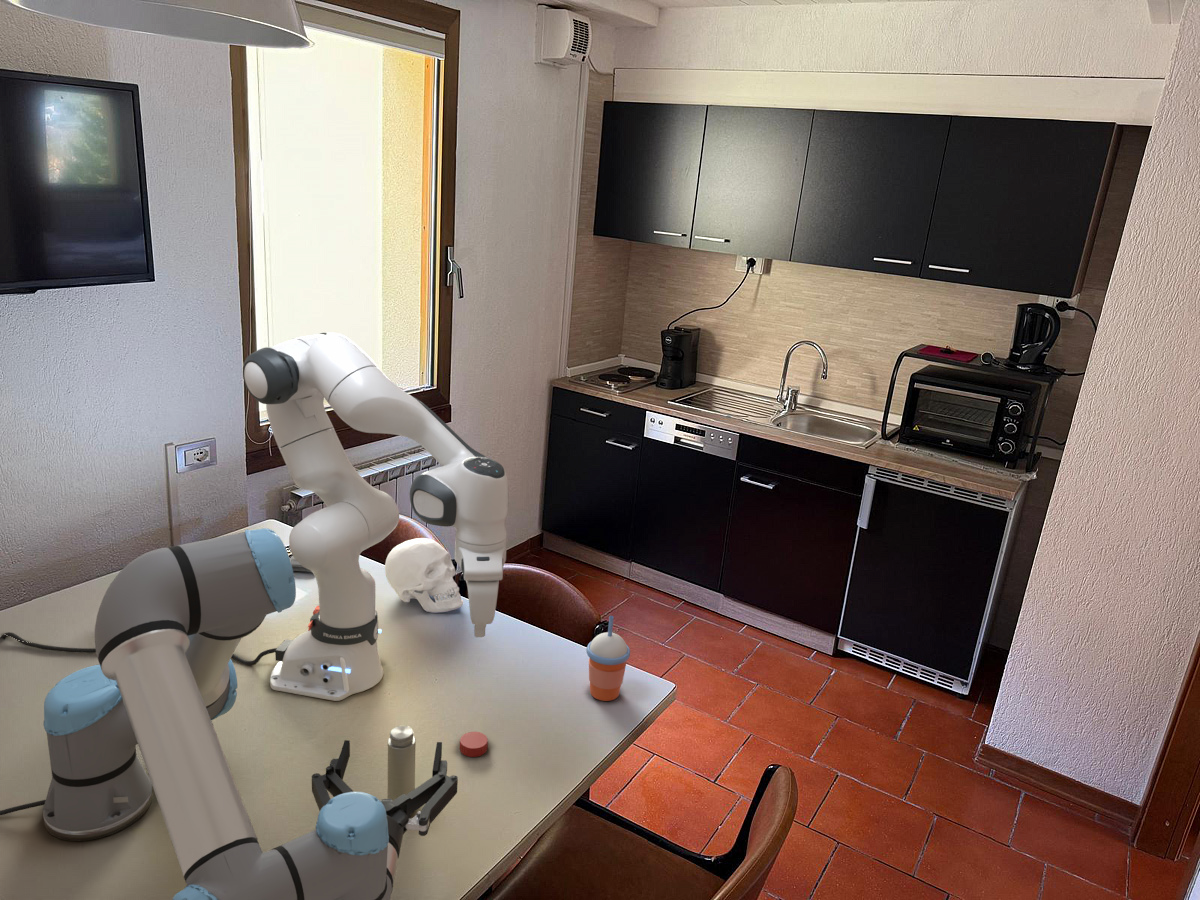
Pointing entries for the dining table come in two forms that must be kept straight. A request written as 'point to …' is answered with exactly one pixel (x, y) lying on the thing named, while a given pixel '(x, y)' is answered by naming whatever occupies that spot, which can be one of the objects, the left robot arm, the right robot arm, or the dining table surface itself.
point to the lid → (473, 744)
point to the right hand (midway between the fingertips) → (478, 621)
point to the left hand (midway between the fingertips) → (393, 748)
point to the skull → (423, 575)
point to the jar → (401, 762)
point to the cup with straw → (607, 664)
